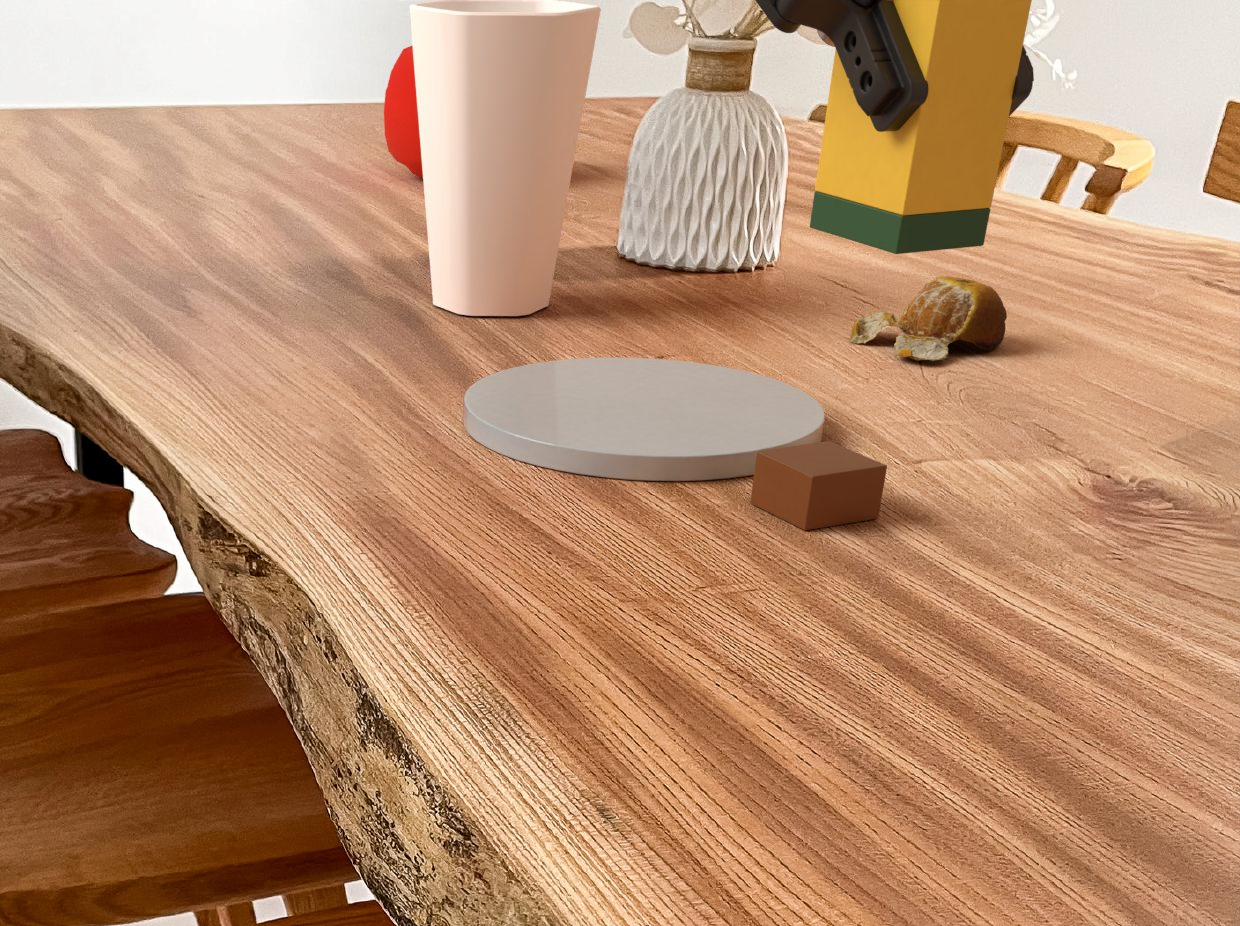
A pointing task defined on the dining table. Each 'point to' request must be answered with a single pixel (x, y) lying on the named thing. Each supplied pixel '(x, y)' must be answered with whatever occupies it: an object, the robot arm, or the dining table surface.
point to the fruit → (941, 319)
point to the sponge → (926, 134)
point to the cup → (498, 143)
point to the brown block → (818, 485)
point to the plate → (639, 417)
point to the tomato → (403, 114)
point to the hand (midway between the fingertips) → (957, 110)
